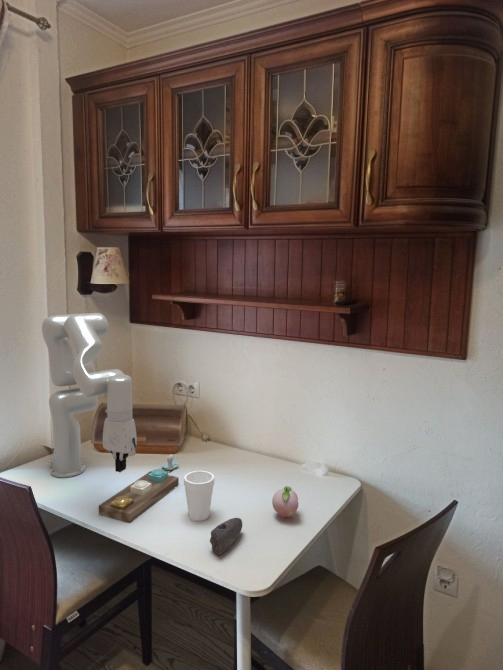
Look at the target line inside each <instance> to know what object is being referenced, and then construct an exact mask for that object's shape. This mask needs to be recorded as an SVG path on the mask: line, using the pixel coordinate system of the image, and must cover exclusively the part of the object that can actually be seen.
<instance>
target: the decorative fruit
mask: <svg viewBox="0 0 503 670" xmlns="http://www.w3.org/2000/svg"><path fill="white" fill-rule="evenodd" d="M271 504H272V508H273V510H274V511H275V512H276V514H278V516H281V517H283V518H289V517H292V516H294V515H295V514H296V513H297V510H298V509H299V497H298V495H297V493H296V491H295V490H293V489H292V487H291V486H288V485H286V486H284V487H283V488H281V489H279V490H277V491H276V492H274V494H273V496H272V501H271Z"/></svg>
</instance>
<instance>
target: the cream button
mask: <svg viewBox="0 0 503 670" xmlns="http://www.w3.org/2000/svg"><path fill="white" fill-rule="evenodd" d="M134 482H135V481H134ZM150 490H152V483H148V482H147V481H144V480H140V481H137V482H135V483H134V484H133V485H132V486H130V493H133V494H137V495H141V496H144V495H145V494H146V493H148V492H149V491H150Z"/></svg>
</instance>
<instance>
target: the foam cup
mask: <svg viewBox="0 0 503 670" xmlns="http://www.w3.org/2000/svg"><path fill="white" fill-rule="evenodd" d="M183 485H184V489H185V490H184V491H185V497H186V504H187V512H188V517H189V520H192V521H196V522H202V521H205V520H207V519H208V518H209V516H210V514H211V513H210V511H211V505H212V497H213V491H214V485H215V475H214V474H213V473H212V472H210V471H206V470H194V471H190V472H188V473H186V474H185V475H184V477H183Z"/></svg>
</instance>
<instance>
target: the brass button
mask: <svg viewBox="0 0 503 670" xmlns="http://www.w3.org/2000/svg"><path fill="white" fill-rule="evenodd" d="M131 504H133V499H131V498H129V497H127V496H119V497H117V498H116V499H115V500H114V501H113V502H111V507H115V508H118V509H122V510H124V509H126V508H127V507H128V506H130V505H131Z"/></svg>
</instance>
